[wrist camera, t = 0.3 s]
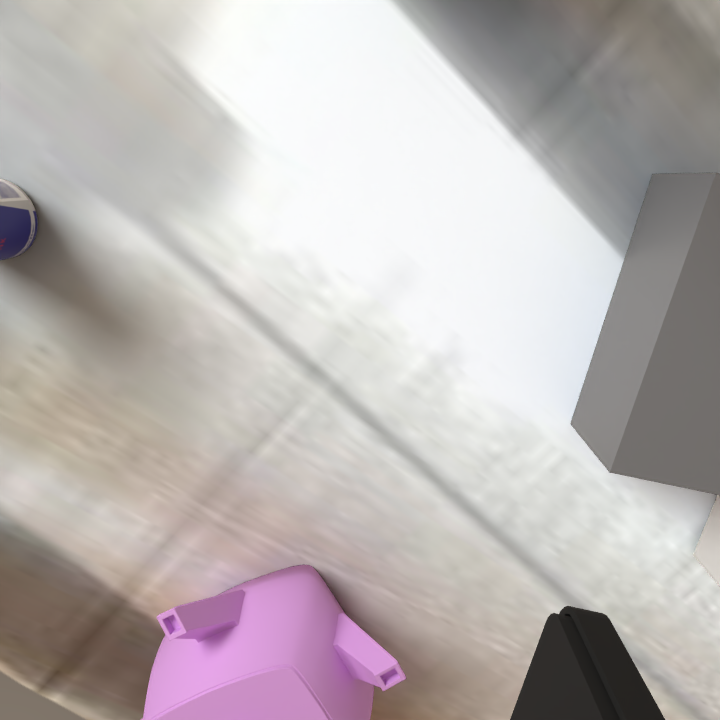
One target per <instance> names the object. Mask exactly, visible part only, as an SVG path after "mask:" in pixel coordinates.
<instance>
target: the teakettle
mask: <svg viewBox="0 0 720 720" xmlns="http://www.w3.org/2000/svg"><path fill="white" fill-rule="evenodd" d="M157 619H158V621H159V623H160V625H161V627H162V628H163V630H164V632H165V634H166V635H165V637H164V638H163V640H162V643H161V645H160V647H159V650H158V653H157V655H156V658H155V661H154V665H153V668H152V672H151V676H150V680H149V685H148V690H147V696H146V703H145V709H144V716H143V718H142V719H141V720H370V717H371V711H372V704H373V695H374V685H375V686H377V687H380V688H381V689H382V691H385V690H387V689H389V688H390V687H392V686H394V685H396V684H398V683H399V682H401V681H403V680H405V679H406V676H405V674H404V672H403V670H402V669H401V667H400V665H399V663H398V662H397V660H396V659H395V658H394V657H393V656H392V655H390V654H389V653H388V652H387V651H386V650H385V649H384V648H383V647H381V646H380V645H379V644H378V643H377V642H376V641H375V640H374V639H372V638H371V637H370V636H369V635H368V634H367V633H366V632H365V631H363V630H362V629H361V628H360V627H359V626H358V625H357V624H356V623H355V622H353V621H352V620H351V619H350V618H349V617H348V616H347V615H346V614H345V613H344V611H343V609H342V608H341V606H340V605H339V603H338V601H337V600H336V598H335V597H334V595H333V594H332V592H331V591H330V589H329V588H328V586H327V585H326V583H325V582H324V580H323V579H322V578H321V576H320V575H319V573H318V572H317V571H316V570H315V569H314V568H313V567H312V566H310V565H298V566H293V567H289V568H285V569H282V570H279V571H276V572H273V573H269V574H267V575H264V576H261V577H258V578H255V579H252V580H250V581H247V582H244V583H242V584H240V585H237V586H235V587H233V588H231V589H229V590H227V591H225V592H223V593H221V594H219V595H217V596H215V597H211V598H207V599H203V600H199V601H196V602H192V603H188V604H184V605H180V606H176V607H174V608H172V609H170V610H168V611H166V612H164V613H162V614H160V615H158V616H157Z"/></svg>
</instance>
